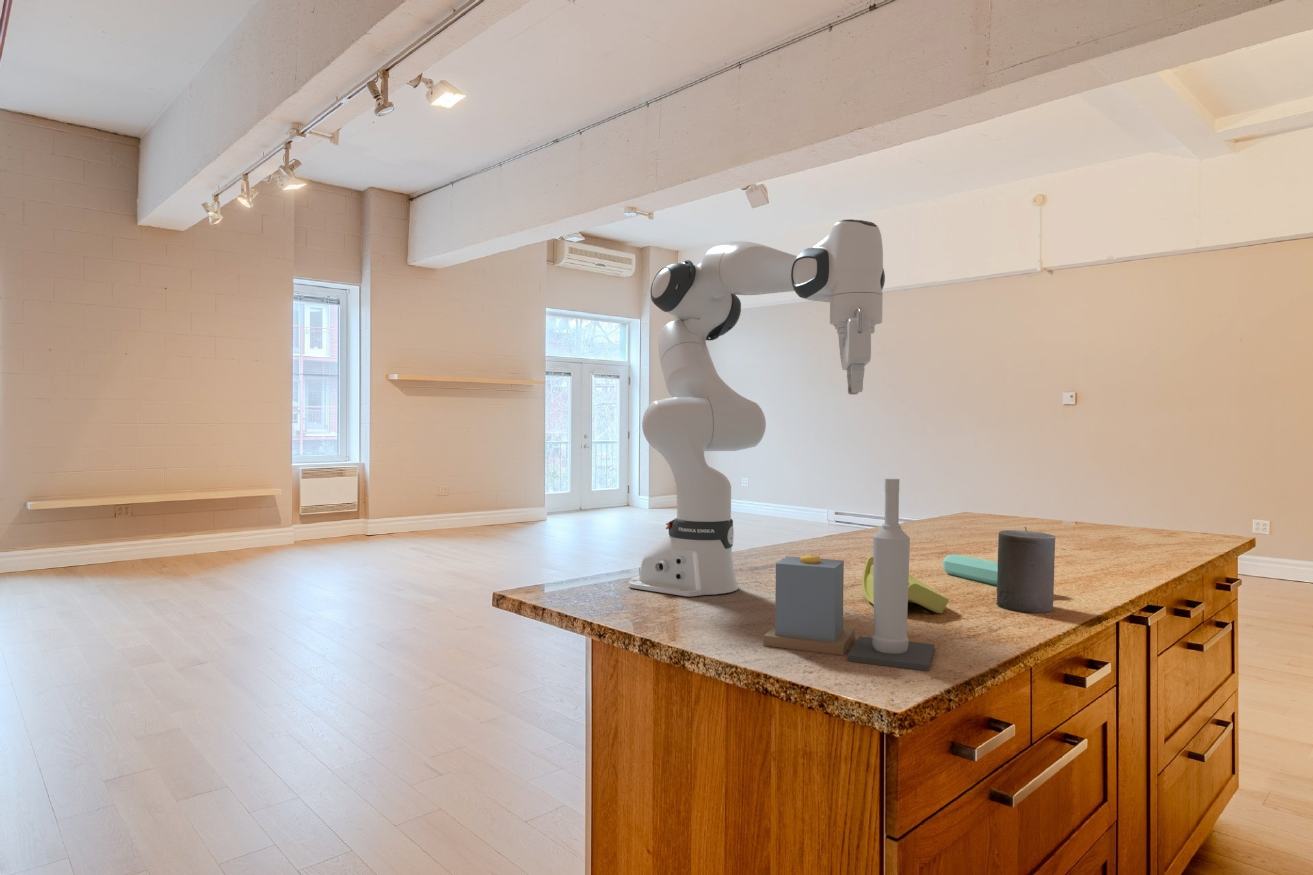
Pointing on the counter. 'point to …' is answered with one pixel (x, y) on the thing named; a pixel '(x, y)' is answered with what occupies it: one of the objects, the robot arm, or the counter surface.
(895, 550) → the bottle
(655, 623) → the counter surface
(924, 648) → the pad
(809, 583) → the mounted unit
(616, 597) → the counter surface
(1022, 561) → the pillar candle
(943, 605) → the plastic component
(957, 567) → the mint green rod
